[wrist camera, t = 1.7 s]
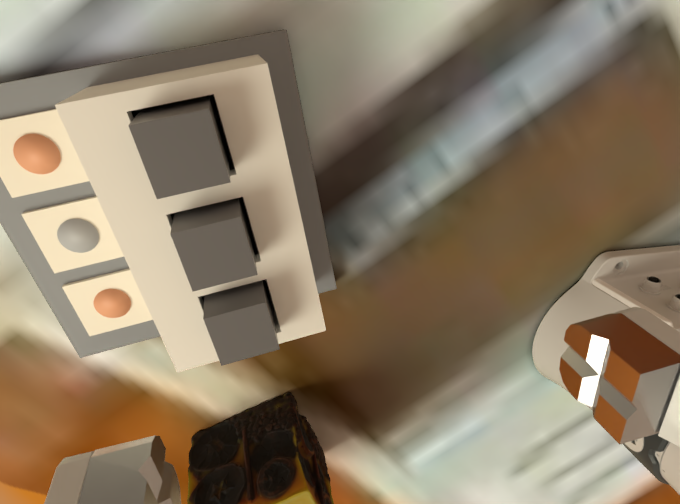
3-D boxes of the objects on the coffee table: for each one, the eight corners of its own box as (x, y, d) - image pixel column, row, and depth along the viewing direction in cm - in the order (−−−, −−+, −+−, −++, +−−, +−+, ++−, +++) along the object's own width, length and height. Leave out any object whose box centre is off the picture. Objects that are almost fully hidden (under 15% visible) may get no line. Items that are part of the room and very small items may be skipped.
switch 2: (236, 180, 28) (240, 216, 23) (250, 230, 30) (257, 274, 25) (178, 193, 28) (170, 233, 23) (196, 243, 30) (192, 291, 25)
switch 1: (210, 90, 26) (209, 108, 21) (228, 151, 27) (230, 182, 22) (146, 102, 25) (128, 125, 20) (168, 164, 27) (157, 199, 22)
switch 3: (257, 254, 31) (265, 302, 26) (269, 296, 33) (279, 349, 28) (205, 267, 31) (203, 318, 25) (220, 309, 32) (221, 365, 27)
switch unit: (284, 29, 28) (302, 33, 22) (333, 282, 37) (356, 333, 31) (-64, 95, 25) (-152, 119, 19) (83, 349, 35) (55, 419, 29)
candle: (290, 388, 42) (309, 485, 33) (326, 451, 47) (351, 550, 38) (187, 433, 41) (179, 544, 32) (235, 492, 46) (238, 601, 38)
